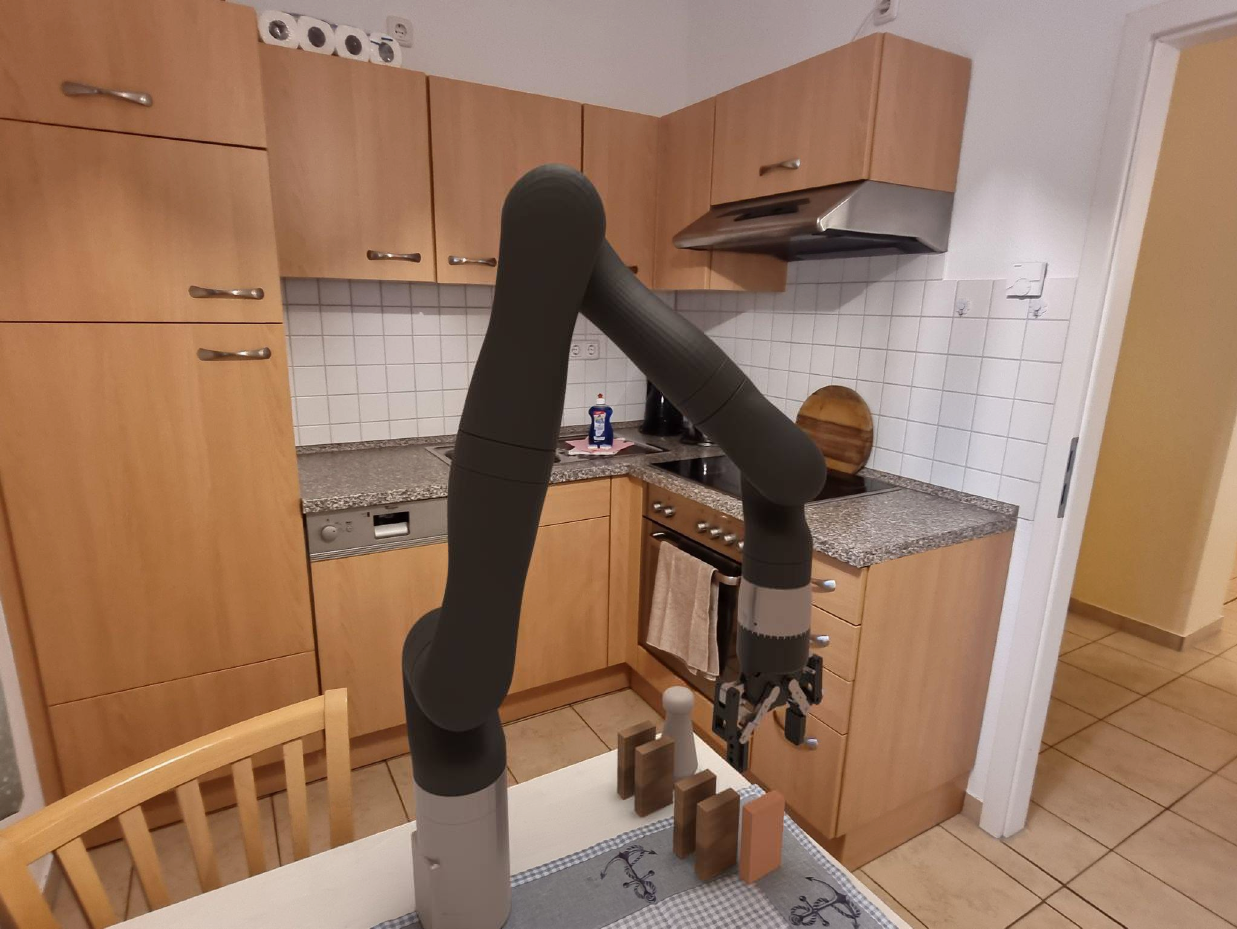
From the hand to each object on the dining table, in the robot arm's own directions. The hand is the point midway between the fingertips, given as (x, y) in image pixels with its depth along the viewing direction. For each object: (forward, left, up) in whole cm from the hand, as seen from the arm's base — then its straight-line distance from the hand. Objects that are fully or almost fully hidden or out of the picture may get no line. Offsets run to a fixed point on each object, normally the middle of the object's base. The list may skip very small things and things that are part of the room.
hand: (766, 754), depth 76 cm
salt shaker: (+2, +18, -15) cm, 23 cm away
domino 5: (0, 0, -15) cm, 15 cm away
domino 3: (-4, +7, -15) cm, 17 cm away
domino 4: (-4, +3, -15) cm, 16 cm away
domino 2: (-4, +15, -15) cm, 21 cm away
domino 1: (-4, +19, -15) cm, 24 cm away
